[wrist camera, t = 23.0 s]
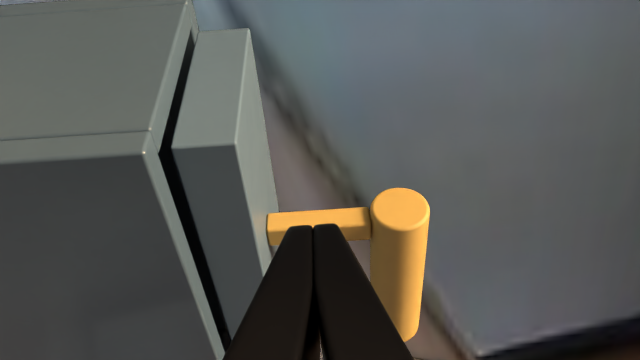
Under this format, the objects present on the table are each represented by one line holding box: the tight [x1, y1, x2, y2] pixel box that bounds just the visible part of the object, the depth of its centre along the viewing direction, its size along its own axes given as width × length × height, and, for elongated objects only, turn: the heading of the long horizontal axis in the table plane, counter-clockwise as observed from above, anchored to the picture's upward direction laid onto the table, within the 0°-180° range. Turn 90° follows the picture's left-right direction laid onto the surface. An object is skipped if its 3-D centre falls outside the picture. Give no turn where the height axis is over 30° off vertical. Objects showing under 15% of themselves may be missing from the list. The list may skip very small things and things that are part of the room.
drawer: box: [157, 28, 430, 353], centre depth 16 cm, size 16×12×4 cm
